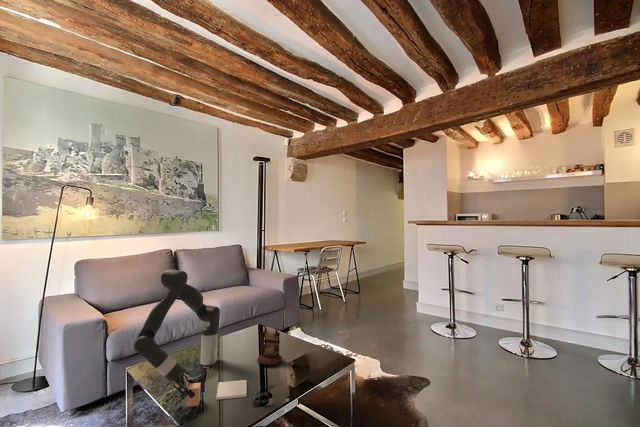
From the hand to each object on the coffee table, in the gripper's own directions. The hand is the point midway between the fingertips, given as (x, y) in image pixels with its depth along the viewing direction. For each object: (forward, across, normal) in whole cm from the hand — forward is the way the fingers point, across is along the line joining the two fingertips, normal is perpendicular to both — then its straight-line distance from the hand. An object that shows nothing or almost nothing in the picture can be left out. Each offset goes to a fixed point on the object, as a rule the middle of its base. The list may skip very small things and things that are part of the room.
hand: (195, 391), depth 145 cm
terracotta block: (+3, 0, +4) cm, 5 cm away
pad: (+15, +8, -8) cm, 19 cm away
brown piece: (+30, +37, -23) cm, 53 cm away
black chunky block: (+26, -6, -18) cm, 32 cm away
